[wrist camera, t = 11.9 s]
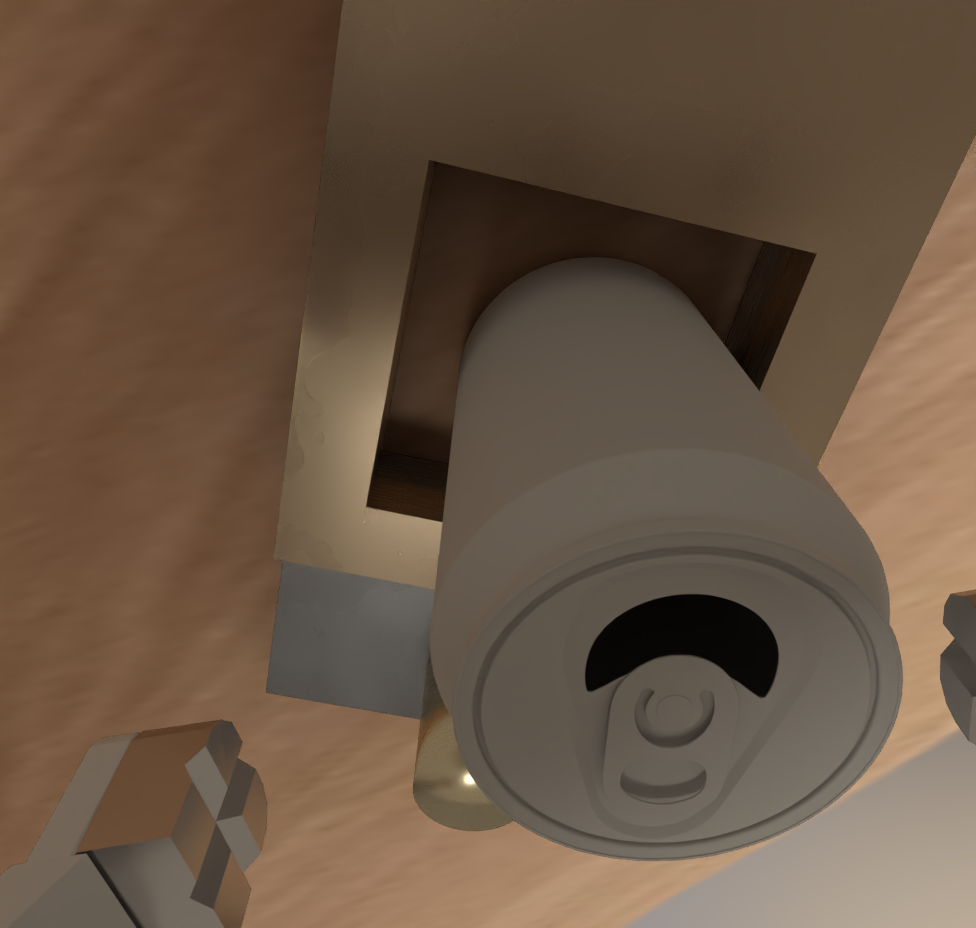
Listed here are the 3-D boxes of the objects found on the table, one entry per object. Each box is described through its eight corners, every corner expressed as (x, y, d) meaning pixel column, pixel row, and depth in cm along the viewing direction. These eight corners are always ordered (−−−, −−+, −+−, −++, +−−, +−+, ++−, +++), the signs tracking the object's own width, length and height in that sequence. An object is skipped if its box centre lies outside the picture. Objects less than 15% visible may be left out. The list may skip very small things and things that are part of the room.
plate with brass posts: (641, 722, 26) (687, 931, 20) (277, 658, 25) (206, 859, 19) (1028, -168, 15) (1390, -312, 9) (416, -354, 14) (354, -665, 8)
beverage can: (727, 254, 19) (1017, 512, 8) (686, 486, 22) (863, 894, 11) (462, 243, 19) (420, 491, 8) (457, 478, 22) (422, 879, 11)
